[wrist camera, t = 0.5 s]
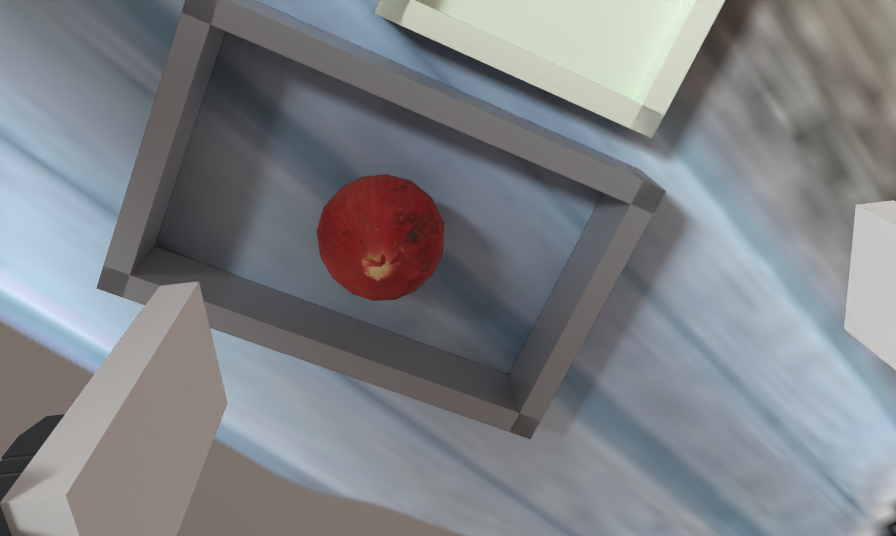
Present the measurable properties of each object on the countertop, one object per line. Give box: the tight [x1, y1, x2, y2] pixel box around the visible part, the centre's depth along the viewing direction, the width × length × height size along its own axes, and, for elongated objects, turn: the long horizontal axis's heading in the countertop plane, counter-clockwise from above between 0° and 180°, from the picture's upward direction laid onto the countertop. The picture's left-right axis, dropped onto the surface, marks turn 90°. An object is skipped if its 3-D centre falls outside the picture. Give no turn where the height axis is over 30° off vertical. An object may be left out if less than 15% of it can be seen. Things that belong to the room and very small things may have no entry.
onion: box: [317, 175, 444, 301], centre depth 36 cm, size 6×6×8 cm
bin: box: [97, 0, 665, 439], centre depth 38 cm, size 22×14×4 cm, turn 66°
